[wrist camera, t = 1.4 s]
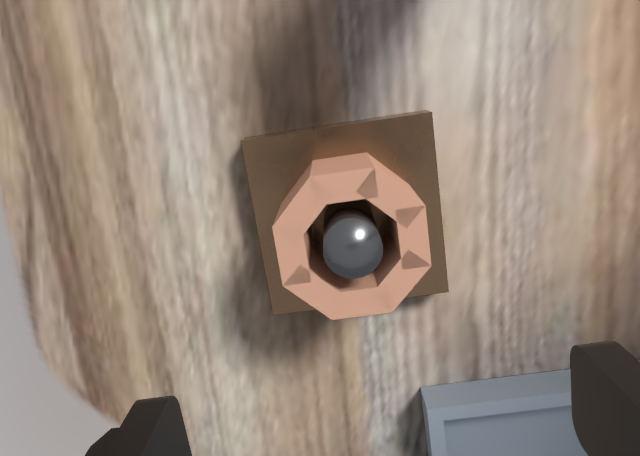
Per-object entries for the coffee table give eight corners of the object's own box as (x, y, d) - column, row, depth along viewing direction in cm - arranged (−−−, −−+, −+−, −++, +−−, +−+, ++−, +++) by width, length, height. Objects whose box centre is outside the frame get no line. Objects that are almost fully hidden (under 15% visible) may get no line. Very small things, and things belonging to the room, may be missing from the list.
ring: (404, 146, 25) (420, 160, 21) (418, 269, 27) (435, 306, 23) (275, 165, 26) (264, 183, 21) (295, 286, 27) (289, 325, 23)
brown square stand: (426, 110, 26) (457, 119, 20) (442, 281, 29) (474, 337, 22) (245, 137, 27) (219, 155, 20) (276, 303, 29) (261, 364, 23)
